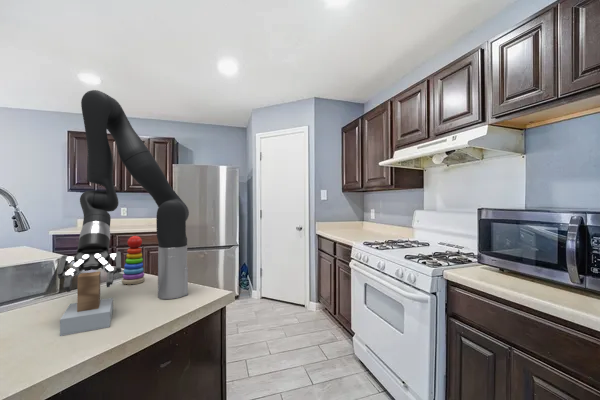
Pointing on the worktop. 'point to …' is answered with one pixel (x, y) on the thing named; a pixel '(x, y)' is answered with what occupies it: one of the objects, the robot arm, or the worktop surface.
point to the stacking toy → (133, 262)
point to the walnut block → (88, 291)
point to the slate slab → (86, 318)
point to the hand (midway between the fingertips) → (88, 287)
